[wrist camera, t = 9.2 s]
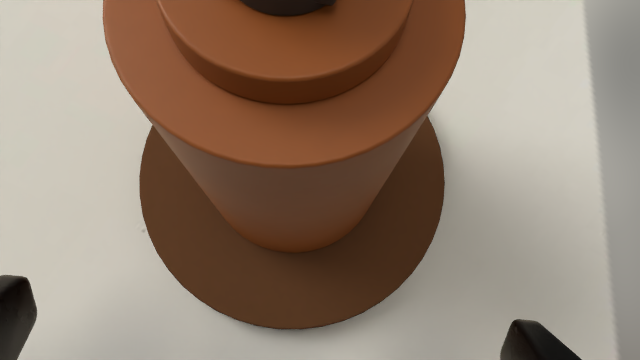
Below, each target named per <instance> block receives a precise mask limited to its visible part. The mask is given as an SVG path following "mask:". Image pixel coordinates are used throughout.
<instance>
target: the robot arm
mask: <svg viewBox="0 0 640 360" xmlns="http://www.w3.org/2000/svg"><path fill="white" fill-rule="evenodd" d="M36 317H37V308H36V304H35V300H34V297H33V293H32V289H31V286H30V282H29V280H28V279H27V278H26V277H23V276H12V275H2V276H0V360H17V359H18V356H19V354H20V352H21V350H22V348H23V346H24V344H25V342H26V340H27V338H28V336H29V334H30V332H31V330H32V328H33V326H34V323H35V321H36ZM500 359H501V360H582V359H580V358H579V357H578V356H577V355H576V354H575V353H574V352H572V351H571V350H570V349H569V348H568V347H567V346H565V345H564V344H563V343H562V342H561V341H560V340H559V339H557V338H556V337H555V336H554V335H553V334H552V333H550V332H549V331H548V330H547V329H546V328H545V327H544V326H542V325H541V324H540V323H538V322H537V321H532V320H521V319H517V320H514V321H513V322H512V323H511V325H510V328H509V331H508V333H507V336H506V338H505V341H504V344H503V346H502V349H501V355H500Z"/></svg>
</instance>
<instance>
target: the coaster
mask: <svg viewBox="0 0 640 360" xmlns="http://www.w3.org/2000/svg"><path fill="white" fill-rule="evenodd" d="M444 185H445V182H444V167H443V160H442V155H441V150H440V146H439V143H438V140H437V137H436V134H435V131H434V128H433V126H432V124H431V122H430V120H429V118H428V116H427V117H426V118H425V120H424V122H423V123H422V125H421V126H420V128H419V129H418V131H417V133H416V134H415V136H414V137H413V139H412V141H411V142H410V144H409V145H408V147H407V148H406V150H405V152H404V153H403V155H402V156H401V158H400V160H399V161H398V163H397V164H396V166H395V167H394V169H393V171H392V172H391V174H390V175H389V177H388V179H387V180H386V182H385V183H384V185H383V186H382V188H381V190H380V191H379V193H378V194H377V196H376V198H375V199H374V201H373V202H372V204H371V205H370V207H369V209H368V210H367V212H366V213H365V215H364V217H363V218H362V219H361V220H360V222H359V223H358V224H357V225H356V226H355V227H354V228H353V229H352V230H351V231H350V232H349V233H348V234H347V235H345V236H344V237H342V238H341V239H340V240H338V241H336V242H334V243H332V244H330V245H328V246H326V247H323V248H320V249H317V250H313V251H309V252H300V253H285V252H279V251H273V250H270V249H266V248H263V247H261V246H258V245H256V244H254V243H252V242H250V241H249V240H247V239H246V238H244V237H242V236H241V235H240V234H239V233H238V232H236V231H235V230H234V229H233V228H232V227H231V226H230V224H229V223H228V222H227V221H226V220H225V219H224V217H223V216H222V215H221V213H220V212H219V211H218V209H217V208H216V207H215V205H214V204H213V203H212V202H211V200H210V199H209V198H208V196H207V195H206V194H205V192H204V191H203V190H202V188H201V187H200V186H199V185H198V183H197V182H196V181H195V179H194V178H193V177H192V175H191V174H190V173H189V171H188V170H187V169H186V168H185V166H184V165H183V164H182V162H181V161H180V160H179V158H178V157H177V156H176V154H175V153H174V152H173V151H172V149H171V148H170V147H169V145H168V144H167V143H166V141H165V140H164V139H163V138H162V136H161V135H160V134H159V132H158V131H157V130H156V128H155V127H154V126H153V125H152V128H151V130H150V132H149V135H148V137H147V140H146V144H145V148H144V152H143V155H142V161H141V169H140V200H141V206H142V213H143V217H144V221H145V224H146V227H147V230H148V234H149V236H150V238H151V240H152V242H153V245H154V247H155V249H156V251H157V253H158V255H159V256H160V258H161V259H162V261H163V262H164V264H165V265H166V267H167V268H168V270H169V271H170V272H171V273H172V274H173V275H174V277H175V278H176V279H177V280H178V281H179V282H180V283H181V285H182V286H184V287H185V288H186V289H187V290H188V291H189V292H191V293H192V294H193V295H194V296H195V297H196V298H198V299H199V300H200V301H202V302H204V303H205V304H207V305H208V306H210V307H211V308H213V309H215V310H216V311H218V312H220V313H223V314H225V315H227V316H229V317H231V318H234V319H236V320H239V321H242V322H246V323H249V324H253V325H256V326H262V327H268V328H275V329H307V328H315V327H322V326H326V325H330V324H334V323H337V322H341V321H344V320H346V319H349V318H351V317H354V316H356V315H358V314H361V313H363V312H365V311H366V310H368V309H370V308H371V307H373V306H375V305H376V304H378V303H380V302H381V301H383V300H384V299H385V298H386V297H388V296H389V295H390V294H391V293H393V292H394V291H395V290H396V289H398V288H399V287H400V285H401V284H402V283H403V282H404V281H405V280H406V279H407V278H408V277H409V276H410V275H411V274H412V273H413V271H414V270H415V268H416V267H417V266H418V264H419V263H420V261H421V260H422V259H423V257H424V255H425V253H426V251H427V249H428V248H429V246H430V244H431V242H432V240H433V237H434V235H435V232H436V229H437V226H438V223H439V220H440V215H441V211H442V206H443V199H444Z"/></svg>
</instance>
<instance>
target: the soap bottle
mask: <svg viewBox="0 0 640 360" xmlns="http://www.w3.org/2000/svg"><path fill="white" fill-rule="evenodd" d="M465 19H466V13H465V0H103V25H104V32H105V40H106V44H107V47H108V50H109V54H110V57H111V61H112V63H113V65H114V67H115V69H116V71H117V74H118V76H119V78H120V80H121V82H122V83H123V85H124V86H125V88H126V89H127V91H128V92H129V94H130V95H131V97H132V98H133V100H134V101H135V102H136V104H137V105H138V106H139V107H140V109H141V110H142V111H143V113H144V114H145V115H146V117H147V118H148V119H149V121H150V122H151V123H152V124H153V126H154V127H155V128H156V130H157V131H158V132H159V134H160V135H161V136H162V138H163V139H164V140H165V141H166V143H167V144H168V145H169V147H170V148H171V149H172V151H173V152H174V153H175V154H176V156H177V157H178V158H179V160H180V161H181V162H182V164H183V165H184V166H185V168H186V169H187V170H188V171H189V173H190V174H191V175H192V177H193V178H194V179H195V181H196V182H197V183H198V185H199V186H200V187H201V188H202V190H203V191H204V192H205V194H206V195H207V196H208V198H209V199H210V200H211V202H212V203H213V204H214V205H215V207H216V208H217V209H218V211H219V212H220V213H221V215H222V216H223V217H224V219H225V220H226V221H227V222H228V223H229V224H230V226H231V227H232V228H233V229H234V230H235V231H236V232H238V233H239V234H240V235H241V236H242V237H244V238H246V239H247V240H249V241H250V242H252V243H254V244H256V245H258V246H261V247H263V248H266V249H270V250H273V251H279V252H285V253H300V252H309V251H313V250H317V249H320V248H323V247H326V246H328V245H330V244H332V243H334V242H336V241H338V240H340V239H341V238H342V237H344V236H345V235H347V234H348V233H349V232H350V231H351V230H352V229H353V228H354V227H355V226H356V225H357V224H358V223H359V222H360V220H361V219H362V218H363V217H364V215H365V213H366V212H367V210H368V209H369V207H370V205H371V204H372V202H373V201H374V199H375V198H376V196H377V194H378V193H379V191H380V190H381V188H382V186H383V185H384V183H385V182H386V180H387V179H388V177H389V175H390V174H391V172H392V171H393V169H394V167H395V166H396V164H397V163H398V161H399V160H400V158H401V156H402V155H403V153H404V152H405V150H406V148H407V147H408V145H409V144H410V142H411V141H412V139H413V137H414V136H415V134H416V133H417V131H418V129H419V128H420V126H421V125H422V123H423V122H424V120H425V118H426V117H427V115H428V114H429V112H430V110H431V109H432V107H433V106H434V104H435V103H436V101H437V99H438V98H439V96H440V95H441V93H442V91H443V90H444V88H445V86H446V85H447V83H448V81H449V79H450V78H451V76H452V74H453V71H454V69H455V66H456V64H457V61H458V59H459V56H460V52H461V48H462V43H463V39H464V32H465Z"/></svg>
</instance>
